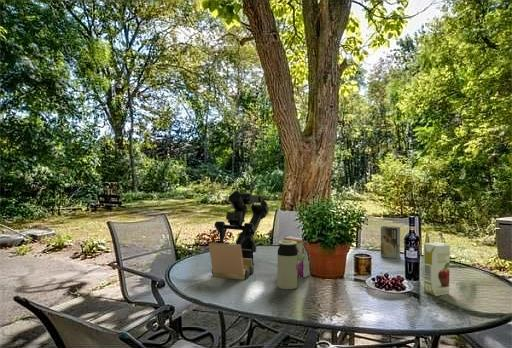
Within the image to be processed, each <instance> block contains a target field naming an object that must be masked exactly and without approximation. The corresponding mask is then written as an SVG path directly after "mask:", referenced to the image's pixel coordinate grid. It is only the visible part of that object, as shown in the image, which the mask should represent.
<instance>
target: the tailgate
mask: <svg viewBox="0 0 512 348" xmlns="http://www.w3.org/2000/svg"><path fill="white" fill-rule="evenodd" d="M208 248H209V249H208V251H209V255H210V256H209V257H210V263H211V272H212V271H213V272H215V273H226V274H238V275H244V267H243V258H242V249H241V245H237V244H236V243H235V244H234V243H223V242H222V243H220V242H218V243H217V242H209V243H208Z"/></svg>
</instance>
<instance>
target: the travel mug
mask: <svg viewBox="0 0 512 348" xmlns="http://www.w3.org/2000/svg"><path fill="white" fill-rule="evenodd" d="M277 243H278V248H277V264H276V265H277V272H276V273H277V276H276V277H277V283H276V286H277V288H279V289H282V290H289V289H290V290H295V289H297V288H298V277H297V264H298V250H297V248H296V244H297V242H296V241H290V240H284V239H283V240H279V241H278V242H277ZM290 290H289V291H290Z"/></svg>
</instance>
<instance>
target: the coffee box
mask: <svg viewBox="0 0 512 348" xmlns="http://www.w3.org/2000/svg"><path fill="white" fill-rule="evenodd" d="M380 257H381V258H389V259H390V258H391V259H399V258H401V227H399V226H389V225H386V226H385V225H383V226H381V227H380Z"/></svg>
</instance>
